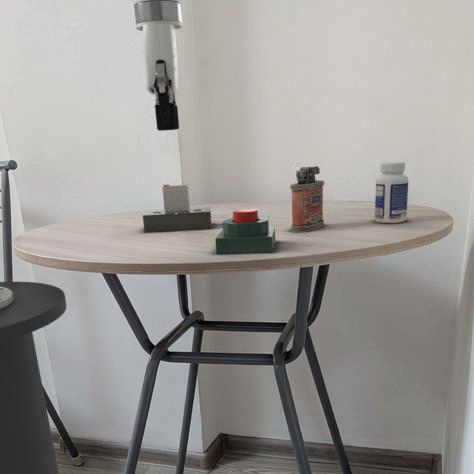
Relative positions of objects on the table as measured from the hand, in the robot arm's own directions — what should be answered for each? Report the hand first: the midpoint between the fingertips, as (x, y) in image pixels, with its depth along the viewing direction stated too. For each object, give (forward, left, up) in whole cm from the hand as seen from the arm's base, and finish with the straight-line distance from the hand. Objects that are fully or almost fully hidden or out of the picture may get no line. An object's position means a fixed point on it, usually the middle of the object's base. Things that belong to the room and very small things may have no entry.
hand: (168, 129), depth 101 cm
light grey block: (0, -1, -14) cm, 14 cm away
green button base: (-8, -25, -17) cm, 31 cm away
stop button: (-8, -25, -13) cm, 29 cm away
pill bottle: (+22, -32, -17) cm, 42 cm away
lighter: (+10, -23, -17) cm, 30 cm away
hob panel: (0, -1, -17) cm, 17 cm away
